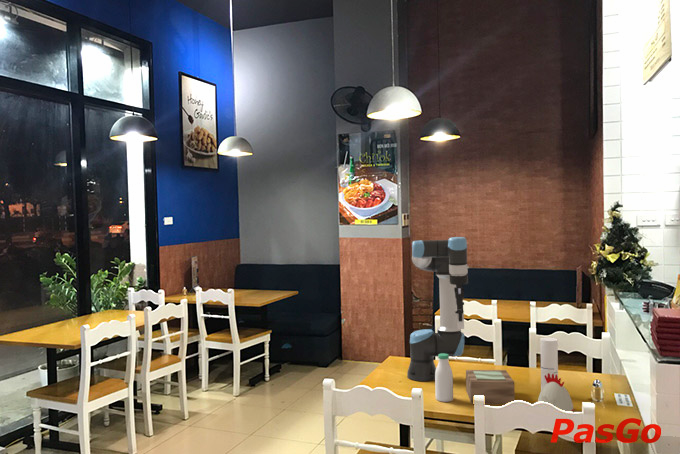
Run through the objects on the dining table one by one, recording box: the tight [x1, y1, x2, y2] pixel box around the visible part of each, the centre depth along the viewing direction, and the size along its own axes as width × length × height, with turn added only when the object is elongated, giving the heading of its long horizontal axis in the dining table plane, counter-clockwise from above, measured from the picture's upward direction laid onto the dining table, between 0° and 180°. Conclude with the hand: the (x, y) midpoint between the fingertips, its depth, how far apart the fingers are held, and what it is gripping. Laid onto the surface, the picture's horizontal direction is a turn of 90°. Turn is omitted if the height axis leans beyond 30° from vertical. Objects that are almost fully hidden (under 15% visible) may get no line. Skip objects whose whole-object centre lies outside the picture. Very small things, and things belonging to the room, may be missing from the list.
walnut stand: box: [465, 369, 516, 405], centre depth 242 cm, size 18×18×10 cm
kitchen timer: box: [537, 373, 574, 411], centre depth 225 cm, size 14×14×15 cm
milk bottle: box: [434, 353, 454, 403], centre depth 241 cm, size 8×8×20 cm
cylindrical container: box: [539, 336, 559, 391], centre depth 243 cm, size 7×7×25 cm
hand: (460, 324), depth 229 cm, fingers open, 13 cm apart
